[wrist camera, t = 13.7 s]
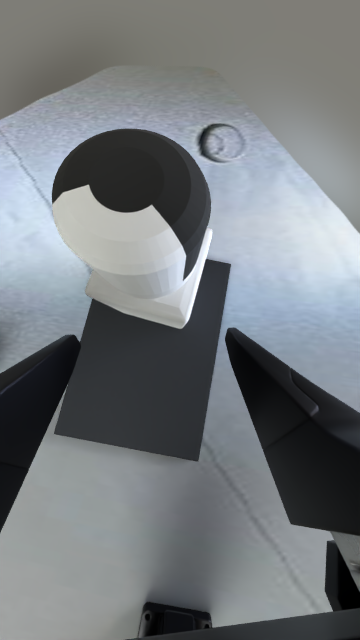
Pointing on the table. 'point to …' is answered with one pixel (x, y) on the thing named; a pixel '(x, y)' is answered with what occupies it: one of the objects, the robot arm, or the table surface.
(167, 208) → the medicine bottle
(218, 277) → the desk mat
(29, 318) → the table surface
